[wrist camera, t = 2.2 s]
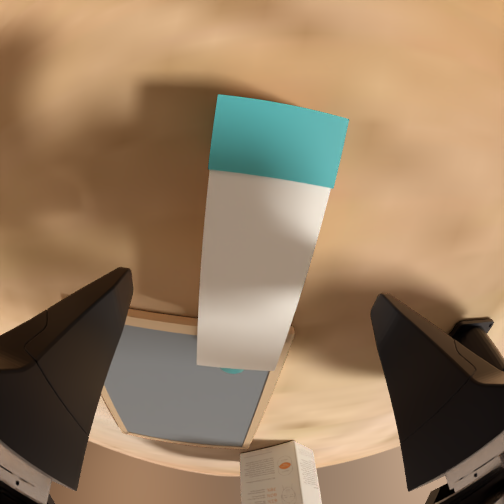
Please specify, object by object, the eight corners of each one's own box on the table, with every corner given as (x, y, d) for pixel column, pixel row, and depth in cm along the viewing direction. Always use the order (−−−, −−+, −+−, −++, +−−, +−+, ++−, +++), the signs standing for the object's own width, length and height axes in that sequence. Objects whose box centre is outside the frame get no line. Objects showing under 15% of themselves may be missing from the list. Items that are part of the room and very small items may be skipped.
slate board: (293, 326, 17) (295, 334, 17) (247, 444, 27) (248, 449, 27) (69, 297, 16) (64, 303, 15) (123, 428, 26) (122, 433, 25)
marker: (316, 114, 11) (349, 119, 8) (263, 341, 18) (267, 392, 14) (225, 98, 11) (218, 94, 7) (201, 335, 18) (195, 386, 14)
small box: (263, 462, 32) (268, 537, 21) (238, 452, 29) (240, 538, 18) (314, 449, 30) (327, 530, 19) (294, 439, 27) (306, 533, 16)
